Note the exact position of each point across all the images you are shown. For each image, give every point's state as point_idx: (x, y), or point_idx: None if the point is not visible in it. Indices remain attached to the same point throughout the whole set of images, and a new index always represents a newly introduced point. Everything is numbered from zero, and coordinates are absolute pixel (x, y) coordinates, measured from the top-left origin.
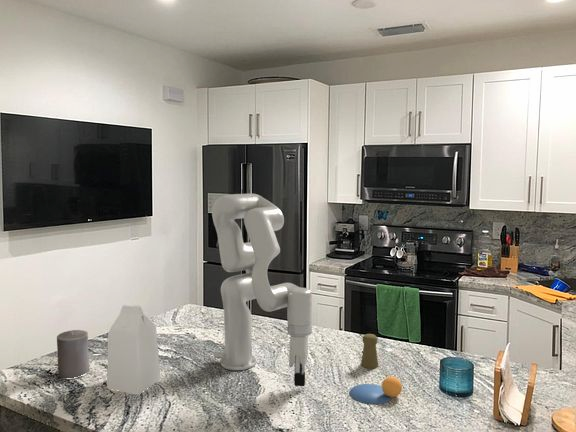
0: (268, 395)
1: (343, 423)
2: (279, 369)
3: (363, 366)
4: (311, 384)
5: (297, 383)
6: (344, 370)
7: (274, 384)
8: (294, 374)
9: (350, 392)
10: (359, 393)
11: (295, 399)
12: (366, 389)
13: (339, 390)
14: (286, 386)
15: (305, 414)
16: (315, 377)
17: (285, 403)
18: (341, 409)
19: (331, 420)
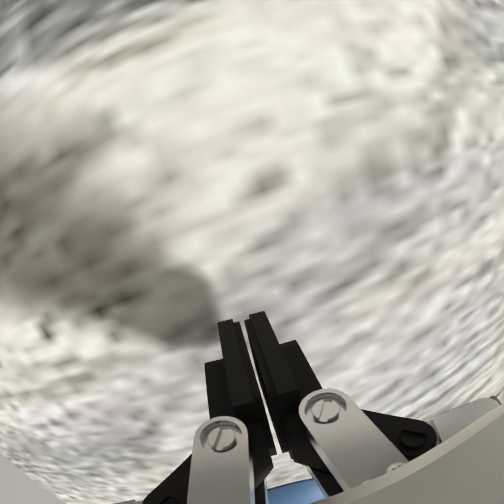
0: (48, 137)
1: (66, 494)
2: (478, 90)
3: None
4: (339, 358)
5: (205, 369)
6: (466, 389)
7: (264, 92)
8: (230, 398)
9: (282, 489)
10: (282, 501)
11: (88, 349)
12: (318, 498)
13: (296, 463)
14: (261, 210)
15: (12, 414)
16: (424, 334)
17: (15, 307)
18: (137, 494)
19: (52, 476)
